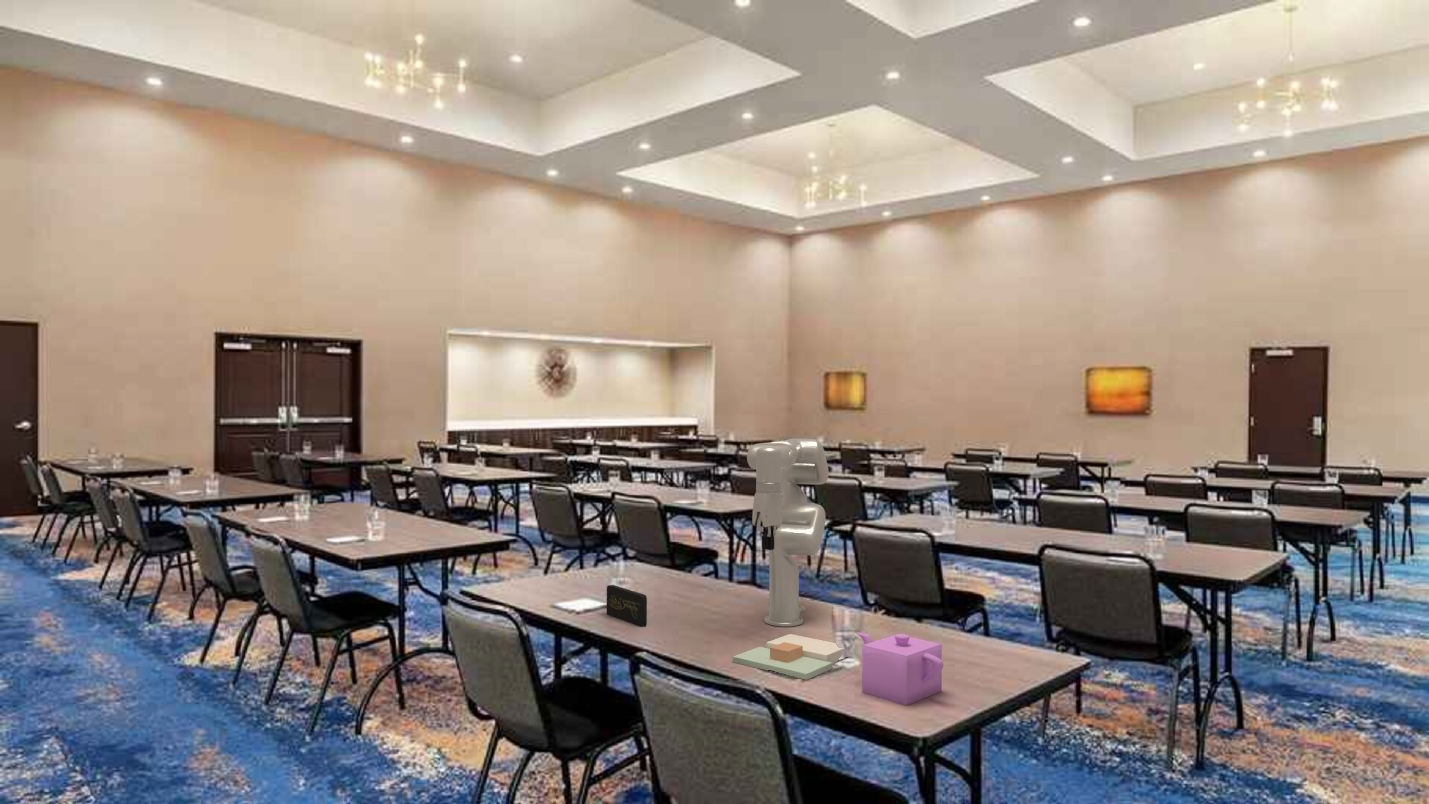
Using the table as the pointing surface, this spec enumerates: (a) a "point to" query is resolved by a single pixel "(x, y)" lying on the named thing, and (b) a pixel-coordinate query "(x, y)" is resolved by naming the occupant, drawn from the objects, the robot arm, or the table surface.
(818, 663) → the sage mat
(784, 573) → the robot arm
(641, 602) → the nameplate
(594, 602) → the table surface
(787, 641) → the plate
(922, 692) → the teapot
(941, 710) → the table surface
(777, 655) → the terracotta tile
